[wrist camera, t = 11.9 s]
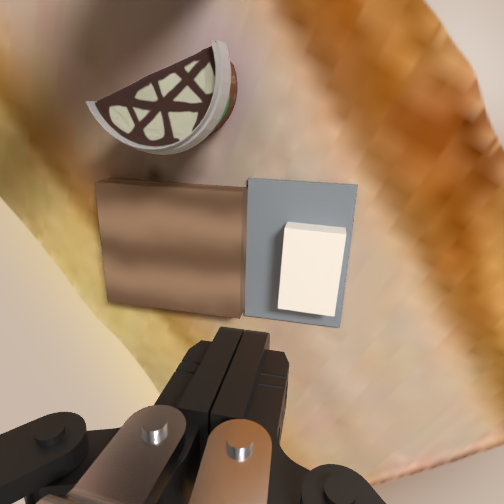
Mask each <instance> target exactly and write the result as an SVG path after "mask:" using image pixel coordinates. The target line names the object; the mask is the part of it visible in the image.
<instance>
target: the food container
mask: <svg viewBox="0 0 504 504" xmlns="http://www.w3.org/2000/svg"><path fill="white" fill-rule="evenodd" d="M210 41H211V45H212V46H211V47H209V48H206V49H203V50H202V51H201V52H199V53H197V54H195V55H193V56H191V57H189V58H187V59H185V60H182V61H180V62H178V63H176V64H174V65H171V66H169V67H167V68H165V69H162V70H160V71H158V72H155V73H153V74H151V75H148V76H147V77H145V78H143V79H141V80H139V81H137V82H136V83H134V84H132V85H130V86H128V87H126V88H124V89H122V90H120V91H118V92H116V93H114V94H112V95H110V96H107V97H105V98H103V99H101V100H99V101H85V102H86V104H87V106H88V108H89V110H90V111H91V113H92V114H93V116H94V117H95V119H96V120H97V121H98V122H99V124H100V125H101V126H102V127H103V128H104V129H105V130H106V131H107V132H108V133H110V134H111V135H112V136H113V137H114V138H116V139H117V140H118V141H120V142H122V143H123V144H125V145H127V146H129V147H132V148H134V149H137V150H140V151H143V152H147V153H151V154H159V155H169V154H176V153H180V152H183V151H186V150H188V149H190V148H192V147H194V146H196V145H197V144H199V143H200V142H201V141H203V140H204V139H205V138H206V137H207V136H208V135H209V134H210V133H212V132H214V131H216V130H217V129H218V128H220V127H221V126H222V125H223V124H224V123H225V122H226V121H227V119H228V118H229V116H230V115H231V112H232V110H233V108H234V105H235V101H236V96H237V77H236V72H235V69H234V65H233V64H232V63H231V62H230V58H229V53H228V49H227V45H226V42H222V41H218V40H217V41H215V42H214V41H212V40H210Z"/></svg>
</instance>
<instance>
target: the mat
mask: <svg viewBox="0 0 504 504" xmlns="http://www.w3.org/2000/svg"><path fill="white" fill-rule="evenodd" d="M357 187H358V185H354V184H338V183H321V182H305V181H289V180H273V179H257V178H248V207H247V243H246V279H245V315H246V316H254V317H261V318H269V319H277V320H285V321H292V322H300V323H308V324H316V325H324V326H331V327H339V328H340V322H341V314H342V306H343V298H344V290H345V282H346V275H347V267H348V259H349V251H350V243H351V235H352V227H353V219H354V211H355V203H356V195H357ZM287 222H296V223H306V224H315V225H325V226H334V227H344V228H346V241H345V248H344V255H343V261H342V268H341V275H340V282H339V289H338V296H337V303H336V309H335V316H334V317H333V316H326V315H319V314H312V313H305V312H298V311H291V310H284V309H278V298H279V286H280V275H281V263H282V252H283V240H284V228H285V226H286V224H287Z"/></svg>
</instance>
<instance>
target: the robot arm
mask: <svg viewBox="0 0 504 504" xmlns="http://www.w3.org/2000/svg"><path fill="white" fill-rule="evenodd" d="M269 343H270V334H269V333H266V332H258V331H251V330H243V329H236V328H228V327H220V328H219V330H218V332H217V334H216V336H215V337H214V339H213V341H212V342H210V341H203V340H201V341H200V342H199V343H197V344H196V345H194V346H193V347H191V348H190V349H189V350H188V352H187V353H186V355H185V356H184V358H183V360H182V363H180V364H179V366H178V368H177V369H176V372H174V374H173V376H172V377H171V379H170V380H169V382H168V383H167V385H166V387H165V388H164V390H163V391H162V393H161V395H160V396H159V398H158V399H157V401H156V403H155V404H154V405H153V406H149V407H146V408H143V409H141V410H139V411H137V412H136V413H134V414H133V415H132V416H131V417H130V418H129V419H128V420H127V421H126V422H125V423H124V425H123V426H122V427H120V428H116V429H105V430H93V431H87V430H86V424H85V421H84V419H83V418H82V417H81V416H80V415H78V414H75V413H72V412H58V413H53V414H49V415H46V416H43V417H41V418H38V419H36V420H34V421H31V422H29V423H27V424H24V425H22V426H20V427H17V428H15V429H13V430H10V431H8V432H6V433H3V434H1V435H0V504H12V503H14V502H16V501H18V500H20V499H22V498H23V497H24V499H25V502H26V504H386V503H385V502H384V501H383V500H382V499H381V497H380V496H379V495H378V494H377V493H376V492H375V490H374V489H373V488H372V487H371V486H370V484H369V483H368V482H367V481H366V480H365V479H364V478H363V477H362V476H361V475H359V474H358V473H357V472H355V471H353V470H352V469H349V468H347V467H344V466H341V465H335V464H326V465H321V466H318V467H316V468H314V469H312V470H311V471H310V470H308V469H306V468H304V467H302V466H300V465H298V464H297V463H295V462H294V461H292V460H291V459H290V458H289V457H288V456H287V455H286V454H285V453H284V452H283V450H282V449H281V447H280V440H281V433H282V427H283V420H284V415H285V409H286V399H287V386H288V373H289V362H288V360H287V358H286V355H285V353H284V352H280V351H273V350H269Z"/></svg>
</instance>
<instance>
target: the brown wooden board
mask: <svg viewBox="0 0 504 504" xmlns="http://www.w3.org/2000/svg"><path fill="white" fill-rule="evenodd" d="M95 191H96V200H97V209H98V218H99V227H100V236H101V245H102V254H103V263H104V273H105V282H106V291H107V300H108V302H116V303H124V304H131V305H139V306H147V307H154V308H162V309H170V310H177V311H185V312H193V313H200V314H208V315H216V316H223V317H231V318H239V319H240V317H241V315H242V312H243V310H244V308H245V279H246V243H247V207H248V187H232V186H217V185H202V184H187V183H172V182H157V181H142V180H127V179H112V178H110V179H106V180H102V181H98V182H95Z"/></svg>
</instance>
